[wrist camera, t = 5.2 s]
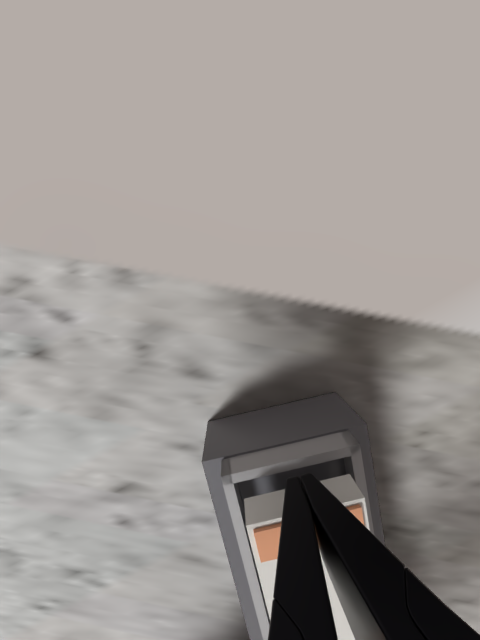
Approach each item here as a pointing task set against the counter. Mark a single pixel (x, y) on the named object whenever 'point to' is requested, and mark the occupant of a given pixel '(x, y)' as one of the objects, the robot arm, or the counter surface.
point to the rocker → (265, 536)
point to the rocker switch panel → (280, 474)
